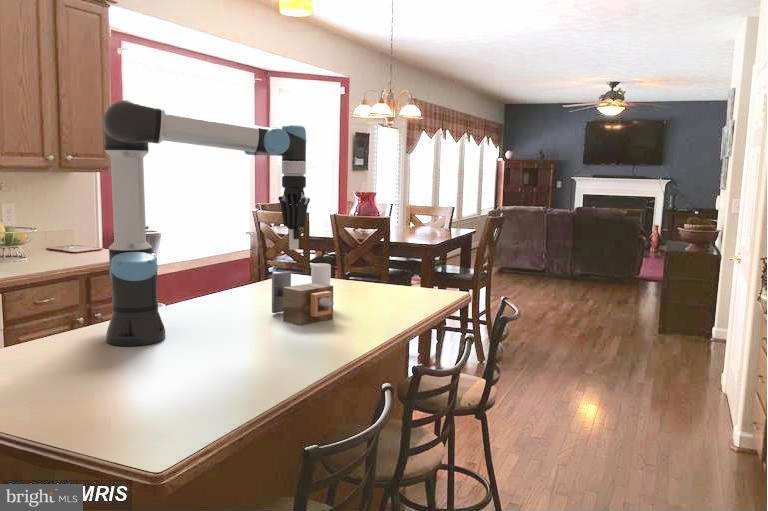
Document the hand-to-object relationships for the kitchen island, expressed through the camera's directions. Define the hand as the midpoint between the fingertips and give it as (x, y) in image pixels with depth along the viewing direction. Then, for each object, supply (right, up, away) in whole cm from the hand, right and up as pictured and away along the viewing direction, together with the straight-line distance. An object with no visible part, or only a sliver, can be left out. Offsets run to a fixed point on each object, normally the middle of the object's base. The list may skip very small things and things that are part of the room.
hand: (293, 249), depth 205 cm
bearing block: (+5, -23, -2) cm, 23 cm away
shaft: (+3, -22, -1) cm, 22 cm away
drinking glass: (+7, -20, +18) cm, 28 cm away
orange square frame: (+10, -17, -7) cm, 21 cm away
